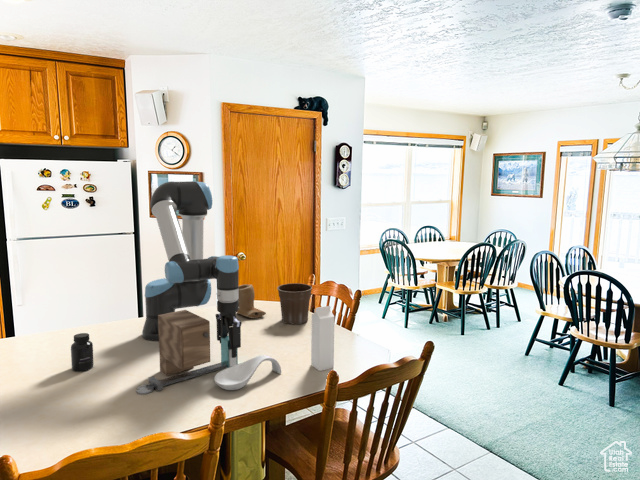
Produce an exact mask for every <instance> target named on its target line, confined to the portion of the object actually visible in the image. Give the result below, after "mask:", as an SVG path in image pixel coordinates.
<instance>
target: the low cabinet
mask: <svg viewBox="0 0 640 480" xmlns="http://www.w3.org/2000/svg"><path fill="white" fill-rule="evenodd" d="M210 324H211V323H210V320H208V319H206V318H204V317H202V316H200V315H198V314H195V313H193V312H191V311H189V310H187V309H181V310H177V311H176V310H175V312H171V313H166V314H161V315H158V329H159V340H158V349H159V350H158V351H159V372H160V373H161V374H164V375H165V376H166V377H167V376H170V375H174V374H178V373H180V372H184V371H188V370H191V369H194V368H195V367H197V366H202V365H205V364H208V363H210V362H211V329H210V327H211V325H210Z"/></svg>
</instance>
